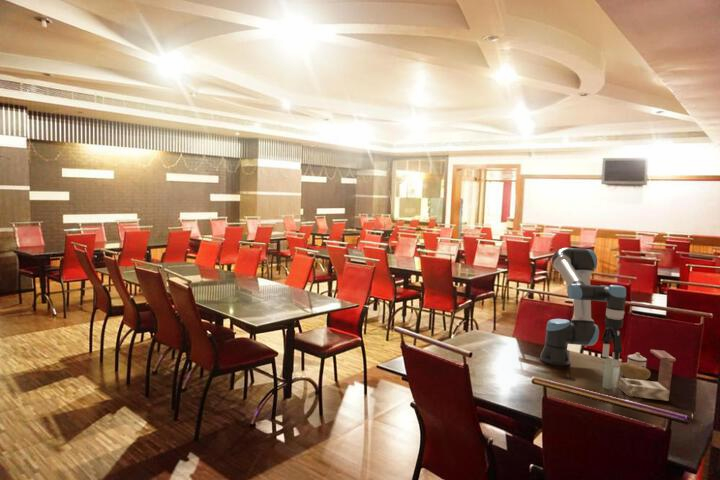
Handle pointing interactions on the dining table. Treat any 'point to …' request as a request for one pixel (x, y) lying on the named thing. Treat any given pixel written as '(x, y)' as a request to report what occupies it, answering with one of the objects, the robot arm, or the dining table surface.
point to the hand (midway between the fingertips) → (609, 361)
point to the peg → (608, 373)
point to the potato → (634, 371)
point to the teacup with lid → (637, 360)
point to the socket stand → (650, 387)
